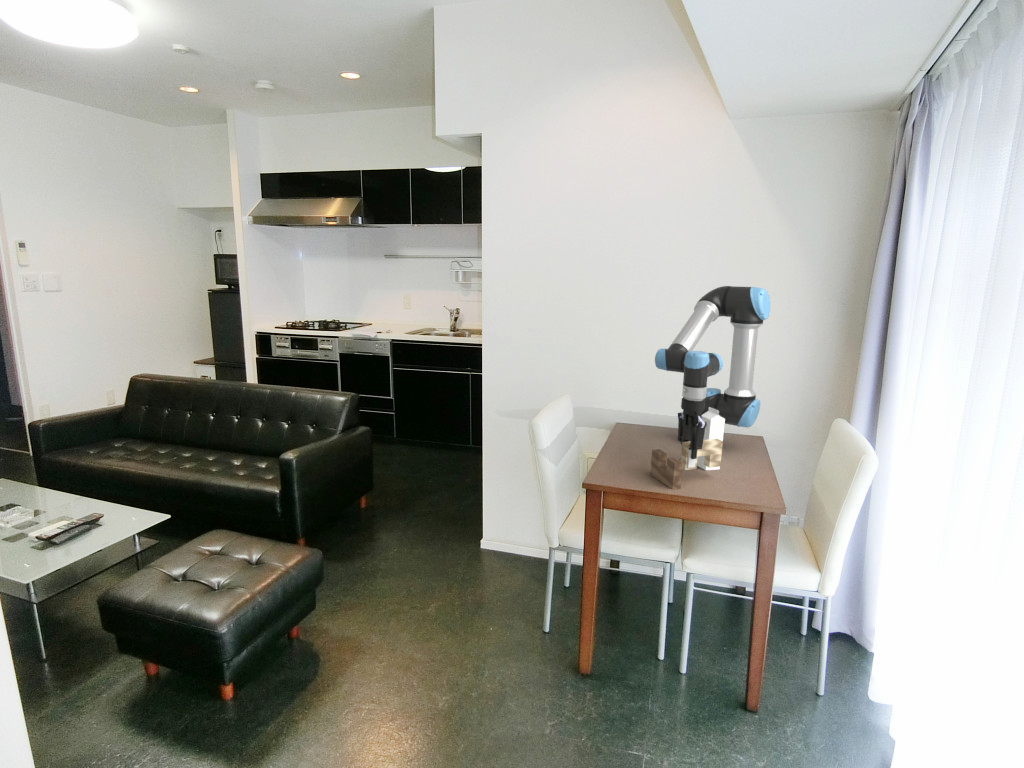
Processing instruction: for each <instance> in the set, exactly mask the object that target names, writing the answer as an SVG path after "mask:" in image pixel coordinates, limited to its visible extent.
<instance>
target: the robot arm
mask: <svg viewBox="0 0 1024 768" xmlns="http://www.w3.org/2000/svg"><path fill="white" fill-rule="evenodd" d="M693 309H694V310H693V312H692V314H691V315H690V317H688V320H687V321H686V322H685V324H684V325H683V327H682V328H681V330H680V331H679V333H678V334H677V335H676V337H675V338H674V339H673V341H672V342H671V344H670V345H669V346H668V348H666V347H664V348H660V349H658V350H656V353H655V356H654V363H655V367H656V368H657V369H659V370H664V371H666V372H675V373H682V374H683V378H682V379H683V380H682V392H681V393H682V394H681V396H682V398H681V403H680V409H681V410H683V411H682V412H677V419H678V423H677V424H678V425H677V440H678V442H680V445H682V442H688V441H690V448H688V449H689V450H688V462H687V467H688V468H692V467H695V465H696V458H697V450H698V449H702V446H703V439H704V432H705V428H706V425H707V422H703V420H702V415H703V414H704V413H706V412H707V411H708V410H709V407H711V408H713V409H716V410H718V411H719V415H720V416H721V417H723V418H724V419H725V425H730V426H731V425H732V426H736V427H738V428H740V427H742V428H747V429H749V428H751V427H752V426H753V425H754V424H755V423H756V421H757V418H758V416H759V413H760V410H761V400H760V399H758V398H757V397H756V396H757V393H756V392H755V390H753V385H754V384H753V383H754V375H755V373H754V372H755V363H756V354H757V343H758V335H759V334H758V333H759V329H760V327H761V326H762V325H764V321H766V320H767V319H768V318H769V317H770V312H771V298H770V295H769V292H768V291H767V290H766V288H763V287H755V286H732V285H731V286H730V285H723V286H718V287H715V288H714V289H712V290H710V291H708V292H707V293H705V294H704V295H703V296H702V297H700V298H699V300H698V301H697V302H696V304H695V306H694V308H693ZM720 317H725V318H726V317H727V318H730V320H729V321H730V322H729V323H730V324H731V325H732V327H733V334H732V337H733V338H732V346H731V347H732V348H731V358H730V369H729V381H728V388H726V389H724V391H723V393H722V390H721V389H720V388H716V387H707V386H708V378H709V377H713V376H715V375H717V374H718V373H719V372H721V371H722V369H723V367H724V360H723V359H722V357H721V355H719V354H718V353H715V352H706V351H702V350H694V349H695V347H696V346H697V344H698V343H699V341H700V340H701V338H702V337H703V336H704V334H705V332H707V331H706V330H708V328H709V326H710V325H711V323H713V322H715V321H716V320H717V319H718V318H720ZM681 450H682V448H681Z"/></svg>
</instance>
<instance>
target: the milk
mask: <svg viewBox="0 0 1024 768" xmlns="http://www.w3.org/2000/svg"><path fill="white" fill-rule="evenodd" d="M702 420H703V422H707V425H706V428H705V432H704V439H703V440H709V439H719V440H721V441H723V442H724V432H725V425H726V424H725V419H724V418H723V417H721V416H720V415H719V411H718V410H716V409H713V408H711V407H709V410H708V411H707V412H706V413H704V414H703V415H702ZM704 458H705V456H698V459H697V467H699V468H700V469H702V470H704V471H715V470H721V466H719V467H710V468H709V467H707V466H705V465H704Z"/></svg>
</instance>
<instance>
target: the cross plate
mask: <svg viewBox="0 0 1024 768" xmlns="http://www.w3.org/2000/svg"><path fill="white" fill-rule="evenodd" d="M723 443H724V440H723V441H721V440H719V439H709V440H703V446H702V449H698V450H697V458H696V465H695V467H692V468H688V467H687V462H688V450H689V449H688V448H690V441H688V442H682V444H681V449H682V450H681V452H680V461H682V462H683V468H682V470H684V471H691V470H697V467H698V466H697V459H698V456H705V458H704V465H705V466H707V467H709V468H710V467H719V466H720V467H721V463H722V455H723Z"/></svg>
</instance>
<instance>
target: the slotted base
mask: <svg viewBox="0 0 1024 768" xmlns="http://www.w3.org/2000/svg"><path fill="white" fill-rule="evenodd" d="M667 457H668V453H667V452H666V451H665V450H662V449H658V448H657V449H652V450H651V461H650V462H651V463H650V472H649V474H650V475H651V476H652V477H654V478H655V479H656V480H658V481H659V482H661V483H662V484H664V485H665V486H667V487H668V488H669V489H671V490H677V489H680V490H681V487H682V479H683V478H682V477H683V469H682V468H683V462H682V461H681V459H680V460H679V459H678V458H676V457H669V458H667Z"/></svg>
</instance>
